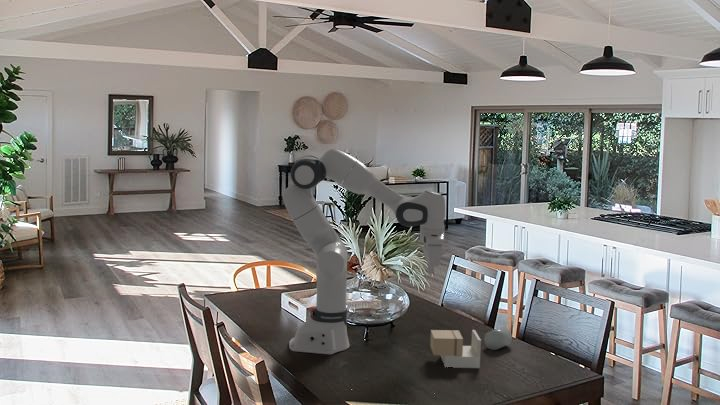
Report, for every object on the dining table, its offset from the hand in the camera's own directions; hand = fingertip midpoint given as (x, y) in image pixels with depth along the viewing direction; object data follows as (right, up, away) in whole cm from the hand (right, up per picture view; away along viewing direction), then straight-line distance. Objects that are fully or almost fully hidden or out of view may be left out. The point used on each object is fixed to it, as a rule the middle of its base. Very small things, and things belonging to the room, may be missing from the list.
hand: (430, 273), depth 239 cm
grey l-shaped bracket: (+9, -31, -8) cm, 33 cm away
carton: (+5, -27, -8) cm, 28 cm away
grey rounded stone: (+24, -26, +5) cm, 35 cm away
